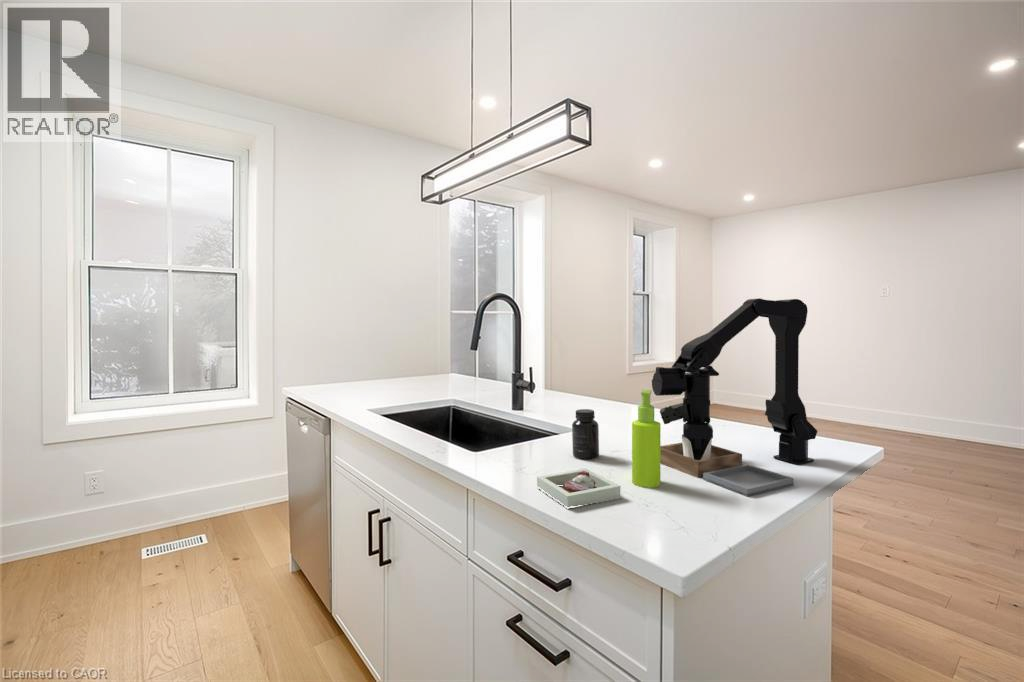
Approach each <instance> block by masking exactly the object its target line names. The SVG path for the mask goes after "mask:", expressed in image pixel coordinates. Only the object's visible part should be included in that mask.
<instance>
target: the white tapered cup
mask: <svg viewBox="0 0 1024 682" xmlns="http://www.w3.org/2000/svg"><path fill="white" fill-rule="evenodd" d="M681 441H682V442H681V443H683V454H684V456H687V457H690V458H692V459H694V456H693V451H692V447H691V442H690V441H689V440H688V439H687V438H686V437H684V436H683V434H681ZM712 442H713V438H711V440H710V442H709V444H708V446H707V448H706V450H705V452H704V454H703V456H702V458H701V460H702V459H708V458H710V453H711V445H712Z"/></svg>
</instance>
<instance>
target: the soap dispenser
mask: <svg viewBox="0 0 1024 682" xmlns="http://www.w3.org/2000/svg"><path fill="white" fill-rule="evenodd" d="M651 393H652V390H651V389H642V390H641V392H640V394H641V404H639V405H638V406H637V420H632V421H631V470H632V471H631V479H632V480H631V482H632V484H633V485H635V486H638V487H641V488H657V487H660V485H661V463H660V446H661V422H659V421H655V406H654V405H652V404H651V395H652V394H651Z"/></svg>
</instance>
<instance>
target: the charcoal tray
mask: <svg viewBox="0 0 1024 682" xmlns="http://www.w3.org/2000/svg"><path fill="white" fill-rule="evenodd" d="M702 479H703V481H705V482H707V483H710V484H714V485H716V486H719V487H721V488H724V489H726V490H730V491H732V492H734V493H736V494H739V495H741V496H745V497H752V496H755V495H760V494H764V493H769V492H772V491H775V490H776V491H777V490H781V489H785V488H789V487H794V484H795V482H794V478H793V477H791V476H790V477H789V476H787V475H784V474H780V473H777V472H775V471H771V470H767V469H765V468H761V467H759V466H756V465H751V464H748V463H746V464H742V465H741V466H736V467H731V468H726V469H721V470H716V471H711V472H706V473H703V477H702Z"/></svg>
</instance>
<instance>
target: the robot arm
mask: <svg viewBox="0 0 1024 682" xmlns="http://www.w3.org/2000/svg"><path fill="white" fill-rule="evenodd" d="M808 310H809V309H808V306H807V303H805V302H804V301H802V300H801V299H798V298H792V299H790V298H789V299H779V300H778V299H777V300H773V299H772V300H771V299H763V298H750V299H749V298H748V299H746V300H745V301H744V302H743V303H742V305H740V306H739V307H737V309H736V310H734V311H733V312H732V313H731V314H729V315H728V316H727V317H726V318H725V319H723V320H722V321H721V322H720V323H719V324H717V325H716V326H715V327H714V328H712V329H711V330H710V331H708V332H707V333H705V334H703V335H700V336H697V337H695V338H694V339H692V340H690V341H688V342H686V343H685V344H684V345H683V346H682V347H681V349H680V355H679V356H678V357H677V359H676V360H675V362H674V363H673V364H672V366H671V367H663V366H656V367H655V372H654V373H653V376H652V379H651V387H652V392H653V393H654V395H655V396H660V397H661V396H681V395H682V394H683V393H684V394H683V395H684V397H683V398H682V402H680V403H676V404H673V405H669V406H664V407H663V408H660V410H659V414H660V417H661V420H662V422H663V424H664V425H667V424H671V422H675V421H679V420H682V422H683V425H682V427H683V428H682V429H683V431H682V433H683V434H682V435H683V436H684V437H686V438H687V439H688V440H689V441H690V442H691V447H692V451H693V456H694V459H695V460H701V458H702V456H703V454H704V452H705V450H706V448H707V446H708V444H709V442H710V440H711V438H712V439H714V438H713V437H714V430H713V426H712V425H711V424H710V423H711V411H710V410H711V377H718V376H720V373H719V372H718V371H717V370H716V369H715V368H714V367H713V365H712V364H713V363H714V362H715V361H716V359H717V358H718V357H719V356H720V354H721V352H722V349H723V348H724V347H725V346H726V344H727V343H729V342H730V341H731V340H732V339H734V338H735V337H736V336H737V335H738V334H740V333H741V332H742V331H743V330H744V329H746V328H747V327H748V326H749V325H750V324H751V323H753V322H754V321H755V320H756V319H757V318H759V317H760V318H768V323H769V326H770V328H771V330H772V332H773V334H774V337H775V341H774V342H775V346H774V347H775V349H774V350H775V354H774V355H775V356H774V357H775V358H774V359H775V361H774V362H775V365H774V366H775V370H774V372H775V373H774V374H775V378H774V379H775V384H774V385H775V387H774V388H775V389H774V390H775V391H774V394H773V396H772V398H771V399H765V408H766V409H765V413H764V415H765V416H766V418H767V421H768V423H770V425H771V426H772V430H773V432H775V433H778V434H779V435H778V437H779V441H778V454H777V455H776V454H775V455H773V456H772V457H773V458H774V459H777V460H780V461H784V462H787V463H790V464H795V465H802V464H806V463H807V464H808V463H811V462H815V459H814V458H813V457H809V441H810V440H815V439H816V437H817V434H818V430H817V429H816V428H815V427H814V425H813V424H812V423H811V422H810V421H808V419H807V411H806V406H805V405H804V403H803V400H802V398H801V396H800V395H799V355H800V353H799V347H800V345H799V341H800V339H799V338H800V334H801V332H802V331H803V330H804V327H805V326H806V325H807V317H808Z"/></svg>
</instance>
